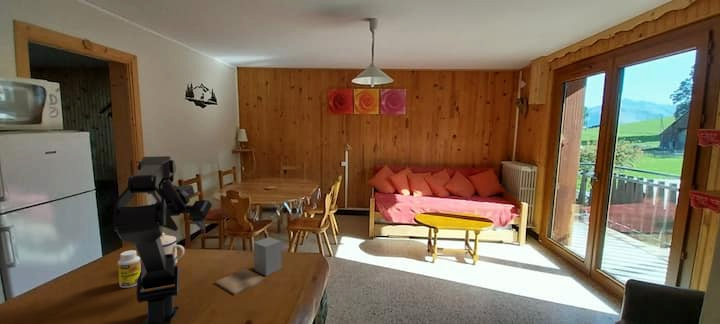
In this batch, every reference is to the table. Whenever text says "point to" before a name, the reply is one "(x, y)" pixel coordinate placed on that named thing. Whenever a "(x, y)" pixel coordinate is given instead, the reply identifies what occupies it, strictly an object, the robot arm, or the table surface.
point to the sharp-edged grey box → (267, 256)
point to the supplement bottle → (129, 269)
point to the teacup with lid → (171, 246)
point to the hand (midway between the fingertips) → (190, 229)
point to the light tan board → (240, 281)
